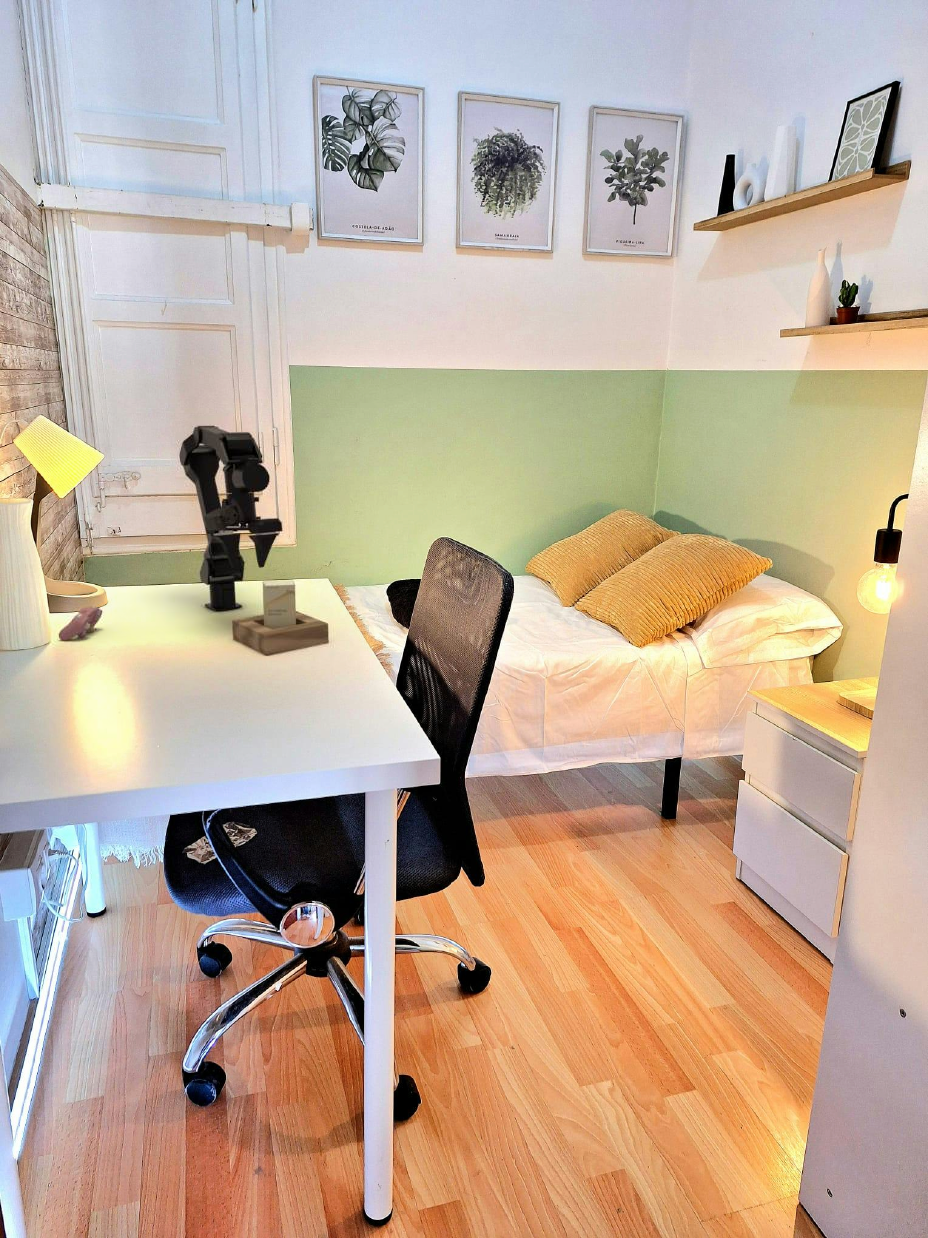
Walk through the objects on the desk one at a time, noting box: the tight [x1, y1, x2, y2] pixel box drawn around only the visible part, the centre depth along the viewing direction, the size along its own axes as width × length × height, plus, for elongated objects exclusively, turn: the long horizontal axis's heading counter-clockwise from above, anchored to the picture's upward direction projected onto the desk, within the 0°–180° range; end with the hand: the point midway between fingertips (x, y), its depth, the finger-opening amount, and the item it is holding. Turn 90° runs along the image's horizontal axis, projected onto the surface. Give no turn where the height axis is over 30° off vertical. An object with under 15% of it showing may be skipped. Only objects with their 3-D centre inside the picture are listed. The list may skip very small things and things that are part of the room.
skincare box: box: [262, 579, 297, 629], centre depth 170 cm, size 6×4×12 cm
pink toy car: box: [58, 605, 103, 641], centre depth 172 cm, size 10×5×7 cm, turn 0°
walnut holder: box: [231, 610, 329, 656], centre depth 171 cm, size 14×14×4 cm
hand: (247, 566), depth 179 cm, fingers open, 9 cm apart
